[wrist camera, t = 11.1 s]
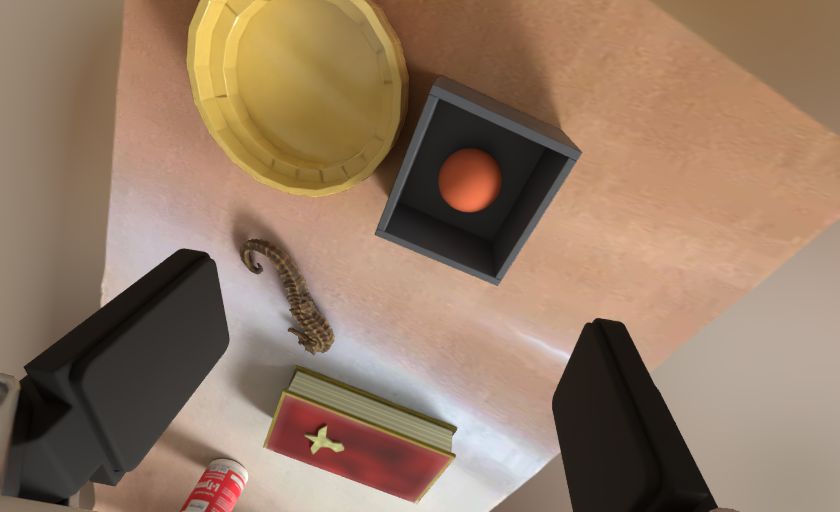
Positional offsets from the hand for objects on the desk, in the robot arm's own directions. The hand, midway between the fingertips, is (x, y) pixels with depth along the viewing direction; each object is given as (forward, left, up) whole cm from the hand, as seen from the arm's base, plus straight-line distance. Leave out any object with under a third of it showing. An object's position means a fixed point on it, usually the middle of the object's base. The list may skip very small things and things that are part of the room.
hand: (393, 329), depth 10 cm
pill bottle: (+59, -10, -24) cm, 65 cm away
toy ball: (+2, +3, -24) cm, 24 cm away
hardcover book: (+38, +5, -24) cm, 45 cm away
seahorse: (+22, -8, -24) cm, 34 cm away
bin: (+2, +3, -24) cm, 24 cm away
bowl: (+1, -11, -24) cm, 27 cm away
